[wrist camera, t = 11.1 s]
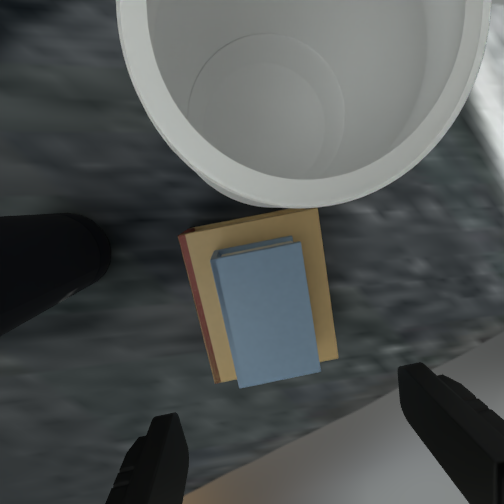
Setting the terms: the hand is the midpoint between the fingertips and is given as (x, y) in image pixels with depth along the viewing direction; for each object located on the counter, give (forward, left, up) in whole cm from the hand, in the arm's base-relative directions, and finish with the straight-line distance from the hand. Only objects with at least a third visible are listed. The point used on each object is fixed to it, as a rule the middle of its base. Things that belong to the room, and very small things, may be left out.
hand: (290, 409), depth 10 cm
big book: (0, 0, -15) cm, 15 cm away
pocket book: (0, 0, -11) cm, 11 cm away
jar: (-12, +2, -15) cm, 19 cm away
